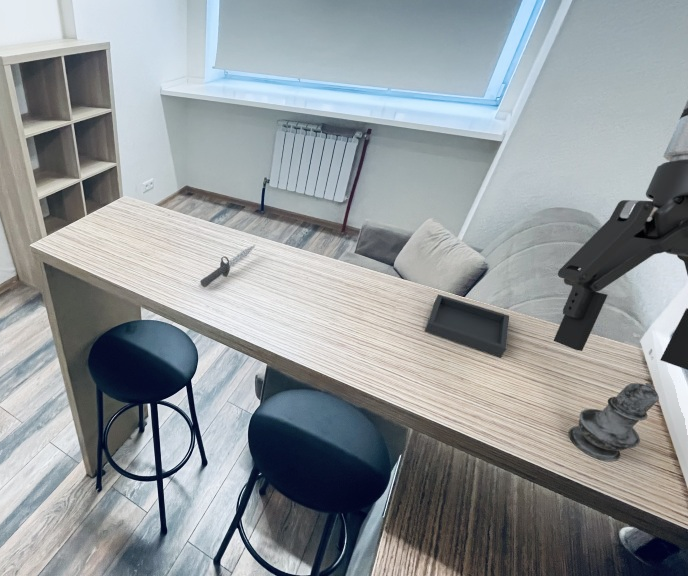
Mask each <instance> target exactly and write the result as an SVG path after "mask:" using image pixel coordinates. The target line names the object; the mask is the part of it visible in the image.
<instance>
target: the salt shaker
mask: <svg viewBox="0 0 688 576" xmlns="http://www.w3.org/2000/svg"><path fill="white" fill-rule="evenodd" d="M659 398H660V397H659V393H658V392H657V391H656V390H655V389H654V384H653V382H645V384H643V383H638V382H632V383H628V384H627V385H626V386H624V388H623V389H622V390H621V391H620V392H619V393H618V394H617V395H616V396H611V397H609V398H608V399H607V405H606V406H605V407H604V408H603V410H602V409H597V408H587V409H583V410H582V411H580V413H579V415H578V416H579V420H578V426H577V425H576V426H572V427H571V428H570V429H569V430H568V432H567V433H568V437H569V439H570V441H571V442H572V444H573V445H574V446H576V447H577V449H579V450H580V451H581V452H583V453H584V454H586V455H588V456H589V457H592V458H594V459H596V460H599V461H603V462H616V461H618V460H619V459H620V458H621V451H625V450H629V449H633V448H636V447H638V446H639V445H640V442H641V438H640V435H639V433H638V432H637V430H636V429H635V428H634V427H635V425H636V424H637V423H638V422H640V421H646V419H648V414H647V413H648V411H649V410H650V409H651V408H652V407H654V405H655V404H657V403H658V401H659Z"/></svg>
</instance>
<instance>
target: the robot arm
mask: <svg viewBox="0 0 688 576" xmlns="http://www.w3.org/2000/svg"><path fill="white" fill-rule="evenodd" d="M662 157H663V158H664V159H665V160H666V162H663V163H661V164H660V165H657V167H656V169H655V172H654V174H653V176H652V178H651V181H650V183H649V185H648V187H647V189H646V191H645V197H646V198H648V200H639V199H638V200H637V199H635V200H632V199H631V200H630V199H622V200H620V201H619V202H618V203H617V204H616V206H615V208H614V210H613V212H612V214H611V215H610V217H609V219H608V220H607V221H606V222H605V223H604V224H603V225H602V226H601V227H600V228H599V229H598V230H597V231H596V232H595V233H594V234H593V235H592V236H591V237H590V238H589V239H588V240H586V242H585V243H584V244H583V245H582V246H581V247H580V248H579V249H578V250H577V251H576V252H575V253H574V254H573V255H572V256H571V257H570V259H568V260H567V261H566V263H564V264H563V266H562V267H560V268H559V270H558V271H557V276H558V277H559V278H560V279H563V282H564V284H565V285H567V286H571V290H570V293H569V295H568V297H567V299H566V302H565V304H564V306H563V309H562V315H563V317H562V319H561V322H560V324H559V326H558V329H557V331H556V334H555V336H554V338H553V342H555V343H557V344H559V345H562V346H565V347H567V348H569V349H572V350H575V351H579V352H583V351H584V348H585V346H586V343H587V341H588V340H589V337H590V335H591V334H592V330H593V328H594V326H595V324H596V322H597V319H598V318H599V315H600V313H601V310H602V309H603V306H604V304H605V302H606V300H607V298H608V294H607V293H603V292H600V291H602V290H603V289H605V288H606V287H608V286H609V285H611V284H612V283H614V282H616V280H619V279H620V278H622V277H623V276H624V275H626V274H627V273H628V272H630V271H631V270H633V269H635V268H636V267H637V266H639V265H641V264H642V263H644V262H645V261H647V260H648V259H649V258H651V257H653V256H654V255H658V254H662V253H666V254H668V255H674V256H677V258H678V259H679V260H681V261H682V262H683V263H684V267H685V272H686V274H687V276H688V100H687V101H686V103H685V106H684V108H683V110H682V113H681V114H680V117H679V121H678V123H677V125H676V127H675V130H674V131H673V134H672V136H671V137H670V141H669V143H668V145H667V147H666V149H665V151H664V154H663V156H662ZM660 361H661V362H664V363H667V364H670V365H672V366H676V367H678V368H681V369H684V370H687V371H688V307H686V308H685V310H684V312H683V314H682V316H681V318H680V320H679V322H678V324H677V326H676V328H675V330H674V332H673V334H672V336H671V338H670V339H669V341H668V344H667V345H666V348H665V350H664V352H663V354H662V355H661V357H660Z"/></svg>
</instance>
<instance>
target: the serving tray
mask: <svg viewBox="0 0 688 576" xmlns="http://www.w3.org/2000/svg"><path fill="white" fill-rule="evenodd" d="M509 324H510V315H509V314H506V313H502V312H500V311H496V310H492V309H489V308H485V307H483V306H478V305H475V304H472V303H468V302H465V301H463V300H459V299H455V298H452V297H449V296H445V295H442V294H437V295H436V298H435V300H434V303H433V305H432V308H431V311H430V314H429V317H428V319H427V322H426V325H425V329H424V332H425V333H427V334H430V335H434V336H436V337H439V338H441V339H445V340H448V341H451V342H454V343H457V344H459V345H463V346H465V347H469V348H471V349H474V350H476V351H479V352H483V353H486V354H489V355H492V356H495V357H498V358H502V356H503V355H504V353H505V351H506V350H507V345H508V333H509V327H510V325H509Z"/></svg>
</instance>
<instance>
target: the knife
mask: <svg viewBox="0 0 688 576" xmlns="http://www.w3.org/2000/svg"><path fill="white" fill-rule="evenodd" d="M255 247H256V244H253V245H251V246H249V247H247V248H245V249H243V250H241V251H240V252H238V254H236V255H235V256H233V257H232V258H231V259H229V258H228V257H227V256H222V257H221V258H220V263H219V267H217V269H215V270H214V271H212V272H211V273H210V274H208V275H207V276H204V277H203V278H202V279H201V280H200V282H199V283H200V285H201V286H202V287H203V288H206V287H208V286H209V285H210V284H212V282H214V281H215V280H216V279H218V278H219V277H221V276H223V277H225V278H227V277H228V275H229V273H230V270H231V268H232V267H233V266H234V265H236V264H237V263H238V262H240V261H241V260H243V259H244V258H245V257H247V256H248V255H249V254H250V253H251V252H252V250H253V249H254V248H255ZM223 259H226V262H224V260H223Z"/></svg>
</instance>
